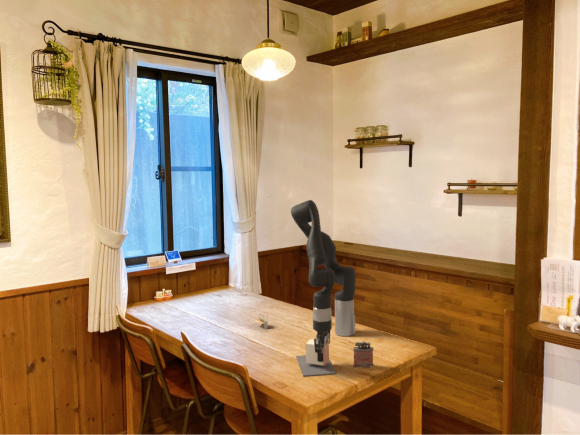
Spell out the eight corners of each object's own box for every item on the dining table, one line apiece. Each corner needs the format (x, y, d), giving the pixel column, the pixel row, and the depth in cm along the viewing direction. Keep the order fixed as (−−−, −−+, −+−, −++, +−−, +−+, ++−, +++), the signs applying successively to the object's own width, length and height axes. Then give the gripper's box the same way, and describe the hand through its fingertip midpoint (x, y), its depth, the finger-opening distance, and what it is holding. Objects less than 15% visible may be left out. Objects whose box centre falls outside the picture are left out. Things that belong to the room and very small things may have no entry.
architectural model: (261, 330, 225) (261, 316, 224) (255, 326, 230) (255, 312, 230) (267, 329, 226) (267, 315, 226) (261, 325, 232) (260, 311, 232)
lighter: (372, 363, 181) (372, 340, 180) (374, 367, 178) (374, 343, 177) (352, 364, 181) (352, 340, 180) (354, 368, 177) (354, 343, 177)
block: (305, 343, 178) (324, 346, 175) (310, 338, 183) (328, 341, 180) (305, 362, 179) (324, 365, 176) (310, 357, 184) (329, 360, 181)
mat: (326, 354, 191) (326, 353, 191) (336, 374, 172) (336, 372, 172) (296, 357, 189) (296, 355, 189) (303, 376, 171) (303, 375, 170)
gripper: (319, 311, 185) (319, 350, 187) (307, 322, 172) (307, 364, 174) (336, 313, 183) (336, 353, 184) (325, 324, 169) (326, 367, 171)
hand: (322, 358), depth 179 cm, fingers closed on block, 5 cm apart
